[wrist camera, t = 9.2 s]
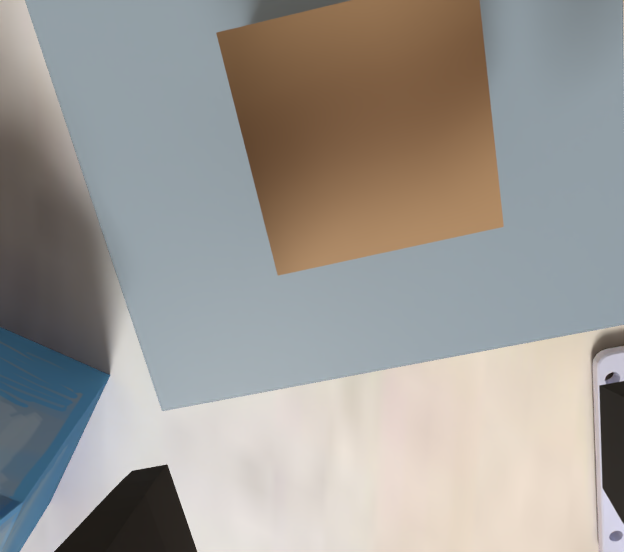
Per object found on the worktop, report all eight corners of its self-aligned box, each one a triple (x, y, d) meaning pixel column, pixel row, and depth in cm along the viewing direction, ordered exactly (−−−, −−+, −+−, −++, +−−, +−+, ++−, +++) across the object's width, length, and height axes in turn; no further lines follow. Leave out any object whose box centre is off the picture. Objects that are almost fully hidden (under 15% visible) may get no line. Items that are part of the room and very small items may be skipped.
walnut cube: (444, 189, 16) (503, 226, 11) (284, 224, 16) (277, 275, 12) (418, 12, 15) (476, -31, 10) (242, 53, 15) (215, 32, 10)
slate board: (616, 317, 18) (626, 324, 18) (166, 401, 19) (162, 411, 18) (605, -262, 13) (619, -279, 13) (-6, -119, 14) (-18, -129, 13)
